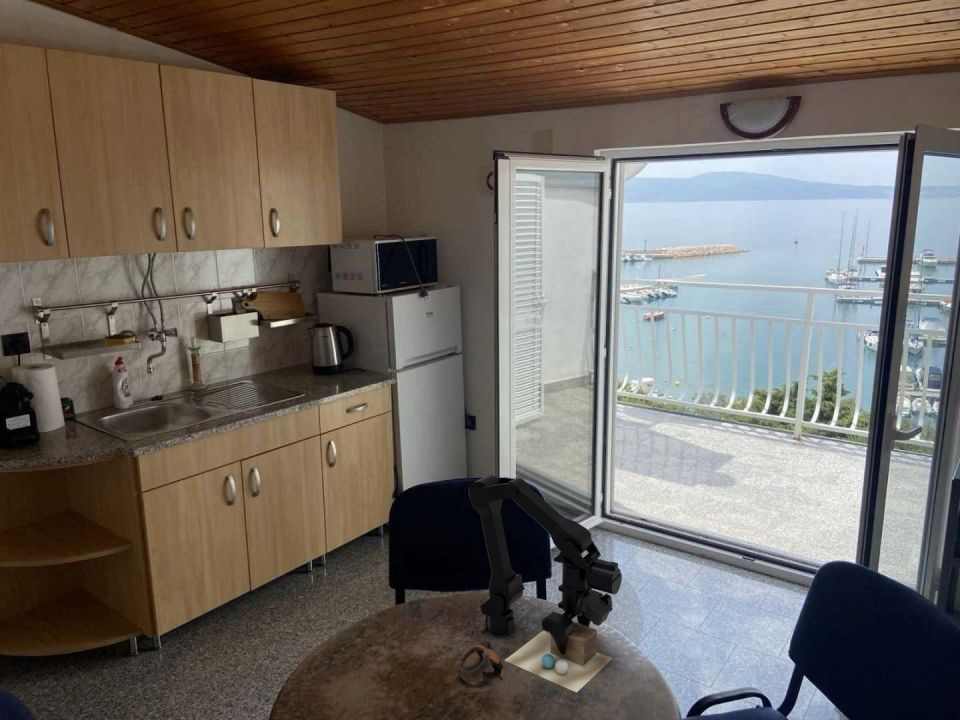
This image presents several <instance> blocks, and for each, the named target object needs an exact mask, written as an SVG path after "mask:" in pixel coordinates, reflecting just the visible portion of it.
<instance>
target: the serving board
mask: <svg viewBox="0 0 960 720" xmlns="http://www.w3.org/2000/svg"><path fill="white" fill-rule="evenodd" d="M545 654H551V655H552V656H553V657H554V659H555V663H554V665H553V666H552V667H551V668H546V667H544V666H543V665H542V662H541V659H542V657H543V655H545ZM560 659H563V660H565V661H566V662H567V663H568V666H569V668H568V671H567V672H566V673H564V674H560V673H558V672H557V671H556V669H555V664H556V662H557V661H558V660H560ZM612 660H613V657H611V656H609V655H606V654H604V653H600V652H598V651H596V655H595V656H594V657H593V658H591V659H590V660H589V661H588V662H587V663H586V664H585V665H584V666H581V665H578V664H576V663H573V662H571V661H569V660H566V659H564V658H561V657H559V656H556V655H554V654H552V653H551V634H550V632H548V631H546V630H542V631H541V632H539V633H538V634H537V635H535V636H534V637H533V638H532V639H530V640H529V641H528V642H526V643H525V644H524V645H522V646H521V647H520V648H519V649H518V650H516V651H515V652H514V653H512V654H511V655H510V656H508V657H507V658H506V659H504V662H507V663H509V664H512V665H514V666H516V667H518V668H520V669H522V670H525V671H527V672H530V673H532V674H534V675H536V676H539V677H541V678H543V679H545V680H548V681H550V682H552V683H553V684H554V683H555V684H556V685H559V686H561V687H563V688H565V689H568V690H570V691H572V692H575V693H578V692H579V691H580V690H581V689H582V688H583V687H584V686H585V685H586V684H588V682H590V680H592V678H594V676H595V675H597V674H598V673H599V672H600V671H601V670H602V669H603V668H604V667H605V666H606V665H607V664H608V663H609V662H610V661H612Z"/></svg>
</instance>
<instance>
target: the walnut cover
mask: <svg viewBox="0 0 960 720" xmlns="http://www.w3.org/2000/svg"><path fill="white" fill-rule="evenodd" d="M572 621H573V623H574V625H573V629H572V631H574V632H573V633H572V634H570V635H569V636H568V641H567V649H566V654H565V655H563V654H561V653H560V651H559V649H558V647H557V645H556V643H555V641H554V639H553V637H552V636H551V653H552V654H554V655H556V656H559V657H561V658H564V659H566V660H569V661H571V662H573V663H576V664H578V665H581V666H584V665H585V664H586V663H587V662H588V661H589V660H590V659H591V658H593V657H594V656H595V655H596V652H597V648H598V647H597V644H598V641H597V640H598V630H597V629H595V628H593V627H591V626H589V627H587V626H585V625H582V624H579V623H578V621H574V620H572Z"/></svg>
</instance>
